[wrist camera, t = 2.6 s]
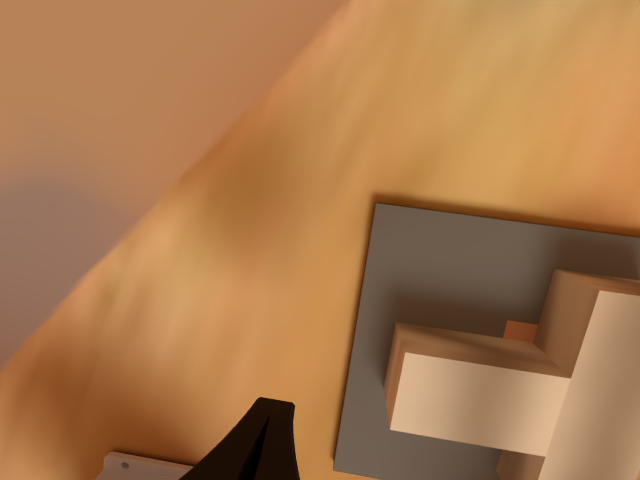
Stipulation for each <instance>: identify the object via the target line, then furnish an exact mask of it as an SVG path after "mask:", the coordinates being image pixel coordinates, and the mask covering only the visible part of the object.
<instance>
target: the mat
mask: <svg viewBox="0 0 640 480" xmlns="http://www.w3.org/2000/svg"><path fill="white" fill-rule="evenodd" d="M554 269H561V270H568V271H575V272H582V273H589V274H596V275H603V276H611V277H618V278H625V279H632V280H639V281H640V237H635V236H627V235H619V234H612V233H604V232H597V231H589V230H582V229H574V228H566V227H559V226H551V225H544V224H536V223H529V222H521V221H514V220H506V219H498V218H491V217H483V216H476V215H468V214H461V213H453V212H445V211H438V210H430V209H423V208H415V207H408V206H400V205H393V204H385V203H377V202H375V207H374V213H373V220H372V226H371V232H370V238H369V245H368V251H367V257H366V263H365V270H364V276H363V282H362V288H361V295H360V301H359V307H358V313H357V320H356V326H355V332H354V338H353V345H352V351H351V357H350V363H349V370H348V376H347V382H346V388H345V395H344V401H343V407H342V413H341V420H340V426H339V432H338V438H337V445H336V451H335V457H334V466H333V471H338V472H344V473H349V474H355V475H360V476H366V477H371V478H377V479H382V480H500V478H499V476H498V474H497V472H496V468H497V465H498V461H499V458H500V455H501V451H502V449H498V448H492V447H486V446H481V445H475V444H469V443H463V442H458V441H452V440H446V439H440V438H434V437H429V436H423V435H417V434H411V433H406V432H400V431H394V430H390V427H389V421H388V414H387V408H386V401H385V395H384V383H385V378H386V372H387V367H388V362H389V356H390V351H391V346H392V340H393V335H394V330H395V324H396V322H401V323H407V324H414V325H420V326H427V327H433V328H440V329H446V330H453V331H459V332H466V333H472V334H479V335H485V336H492V337H499V338H505V339H512V340H518V341H525V342H531V343H533V341H534V337H535V334H536V330H537V327H538V323H539V320H540V316H541V313H542V310H543V306H544V303H545V299H546V296H547V292H548V289H549V285H550V282H551V279H552V275H553V272H554ZM636 480H640V471H639V473H638V476H637V478H636Z"/></svg>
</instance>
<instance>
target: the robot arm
mask: <svg viewBox="0 0 640 480" xmlns="http://www.w3.org/2000/svg"><path fill="white" fill-rule="evenodd" d="M294 410H295V405H294V404H293V403H292V402H286V401H280V400H275V399H269V398H263V397H260V398H258V399H257V400H256V401H255V403H254V404H253V405H252V407H251V408H250V409H249V410H248V412H247V413H246V414H245V415H244V417H243V418H242V419H241V420H240V421H239V422H238V423H237V425H236V426H235V427H234V428H233V429H232V430H231V431H230V432H229V433H228V434H227V435H226V437H225V438H224V439H223V440H222V441H221V442H220V443H219V444H218V445H217V446H216V447H214V448H213V449H212V450H211V451H210V452H209V453H208V454H207V455H206V456H205V457H204V458H203V459H202V460H201V461H200V462H199V463H197V464H196V465H195V466H194V467H193V466H188V465H183V464H177V463H172V462H167V461H161V460H156V459H151V458H145V457H140V456H135V455H129V454H124V453H119V452H109V453H108V454H107V455H106V456H105V458H104V460H103V470H102V471H101V472H100V473H99V475H98V476H97V477H96V478H95V480H300V477H299V472H298V466H297V461H296V454H295V445H294V435H293V418H294Z"/></svg>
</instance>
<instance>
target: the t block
mask: <svg viewBox="0 0 640 480" xmlns="http://www.w3.org/2000/svg"><path fill="white" fill-rule="evenodd" d="M384 395H385V401H386V408H387V414H388V421H389V427H390V430H394V431H400V432H406V433H411V434H417V435H423V436H429V437H434V438H440V439H446V440H452V441H458V442H463V443H469V444H475V445H481V446H486V447H492V448H498V449H502V451H501V455H500V458H499V461H498V465H497V468H496V472H497V474H498V476H499V478H500V480H636V478H637V476H638V473H639V471H640V281H639V280H632V279H625V278H618V277H611V276H603V275H596V274H589V273H582V272H575V271H568V270H561V269H554V272H553V275H552V279H551V282H550V285H549V289H548V292H547V296H546V299H545V303H544V306H543V310H542V313H541V316H540V320H539V323H538V327H537V330H536V334H535V337H534V341H533V343H531V342H525V341H518V340H512V339H505V338H499V337H492V336H485V335H479V334H472V333H466V332H459V331H453V330H446V329H440V328H433V327H427V326H420V325H414V324H407V323H401V322H396V324H395V330H394V335H393V340H392V346H391V351H390V356H389V362H388V367H387V372H386V378H385V383H384Z"/></svg>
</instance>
